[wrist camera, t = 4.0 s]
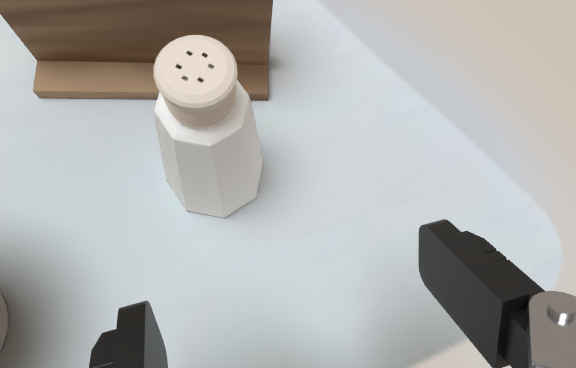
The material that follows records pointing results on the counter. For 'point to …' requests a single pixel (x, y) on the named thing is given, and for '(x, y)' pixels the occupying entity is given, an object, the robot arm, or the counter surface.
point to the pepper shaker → (206, 127)
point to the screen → (133, 42)
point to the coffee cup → (3, 320)
